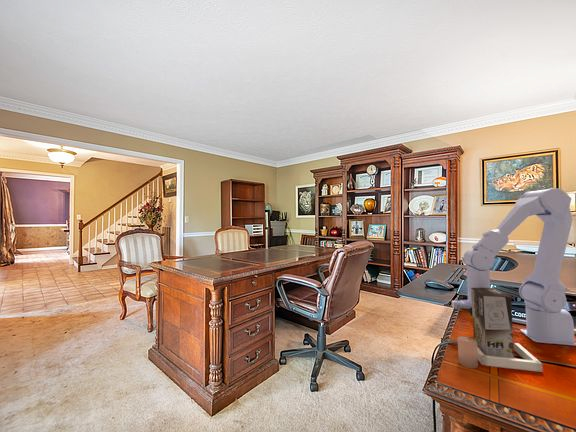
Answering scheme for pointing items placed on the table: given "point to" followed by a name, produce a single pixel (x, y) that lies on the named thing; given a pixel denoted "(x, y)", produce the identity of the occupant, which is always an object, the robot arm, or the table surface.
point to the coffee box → (492, 322)
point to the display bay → (512, 360)
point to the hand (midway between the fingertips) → (480, 332)
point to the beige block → (467, 352)
